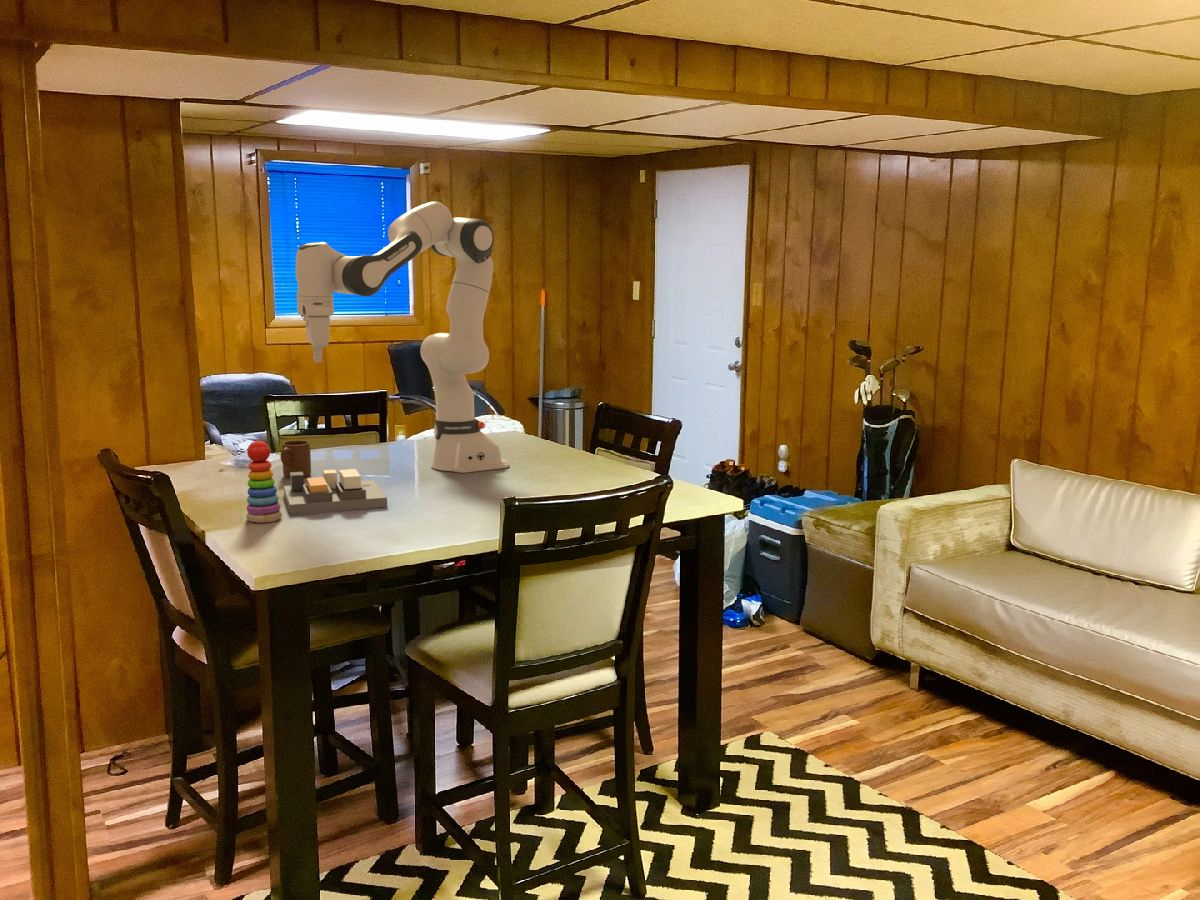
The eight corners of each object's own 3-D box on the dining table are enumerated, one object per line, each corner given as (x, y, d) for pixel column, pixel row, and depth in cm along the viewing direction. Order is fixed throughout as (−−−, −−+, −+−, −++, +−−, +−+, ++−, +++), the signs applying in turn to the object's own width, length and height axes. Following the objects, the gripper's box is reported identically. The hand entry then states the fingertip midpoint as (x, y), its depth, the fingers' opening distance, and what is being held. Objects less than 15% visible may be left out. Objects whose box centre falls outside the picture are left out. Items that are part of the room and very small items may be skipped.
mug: (296, 482, 276) (294, 448, 274) (270, 481, 277) (268, 447, 275) (316, 473, 287) (314, 441, 286) (291, 472, 289) (289, 440, 287)
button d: (356, 480, 257) (355, 468, 256) (361, 488, 248) (360, 476, 248) (339, 481, 255) (339, 469, 255) (344, 489, 247) (343, 477, 246)
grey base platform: (374, 489, 269) (373, 471, 268) (387, 507, 250) (386, 488, 249) (284, 495, 261) (283, 477, 260) (290, 514, 242) (289, 495, 241)
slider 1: (303, 486, 259) (302, 471, 258) (304, 490, 255) (303, 474, 254) (290, 487, 257) (290, 472, 257) (292, 491, 254) (291, 475, 253)
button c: (323, 488, 254) (323, 477, 253) (327, 496, 246) (327, 484, 245) (307, 489, 253) (306, 478, 252) (310, 497, 244) (310, 485, 244)
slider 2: (335, 484, 261) (335, 469, 261) (337, 488, 258) (336, 472, 257) (323, 485, 260) (323, 470, 260) (325, 488, 257) (324, 473, 256)
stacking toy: (274, 513, 243) (270, 436, 239) (287, 520, 237) (283, 441, 233) (241, 518, 238) (237, 440, 235) (253, 525, 232) (249, 445, 228)
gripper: (299, 305, 265) (301, 358, 268) (306, 309, 247) (308, 366, 249) (324, 305, 268) (326, 357, 270) (332, 309, 249) (335, 365, 251)
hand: (317, 361), depth 260 cm, fingers closed
